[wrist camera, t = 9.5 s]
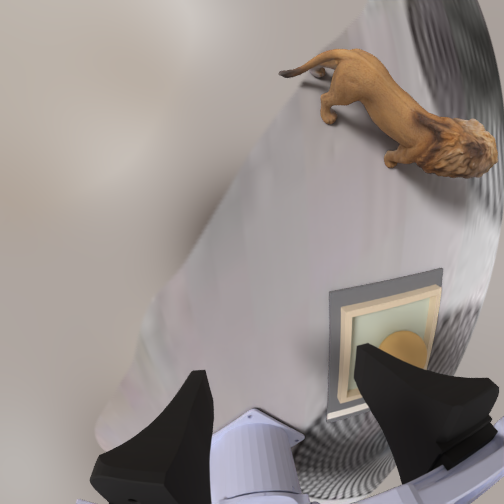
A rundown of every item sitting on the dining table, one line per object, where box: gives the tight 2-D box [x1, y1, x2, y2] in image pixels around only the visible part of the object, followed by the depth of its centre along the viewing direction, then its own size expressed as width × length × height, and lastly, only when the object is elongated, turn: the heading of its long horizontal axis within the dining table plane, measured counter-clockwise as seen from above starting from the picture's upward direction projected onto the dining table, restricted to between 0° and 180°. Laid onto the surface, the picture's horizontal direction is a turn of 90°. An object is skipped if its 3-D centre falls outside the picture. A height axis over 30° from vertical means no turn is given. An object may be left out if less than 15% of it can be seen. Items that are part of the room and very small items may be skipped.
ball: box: [379, 331, 427, 369], centre depth 20 cm, size 5×5×5 cm
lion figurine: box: [279, 49, 498, 178], centre depth 14 cm, size 15×5×9 cm, turn 68°
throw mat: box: [326, 268, 443, 423], centre depth 23 cm, size 16×12×1 cm
